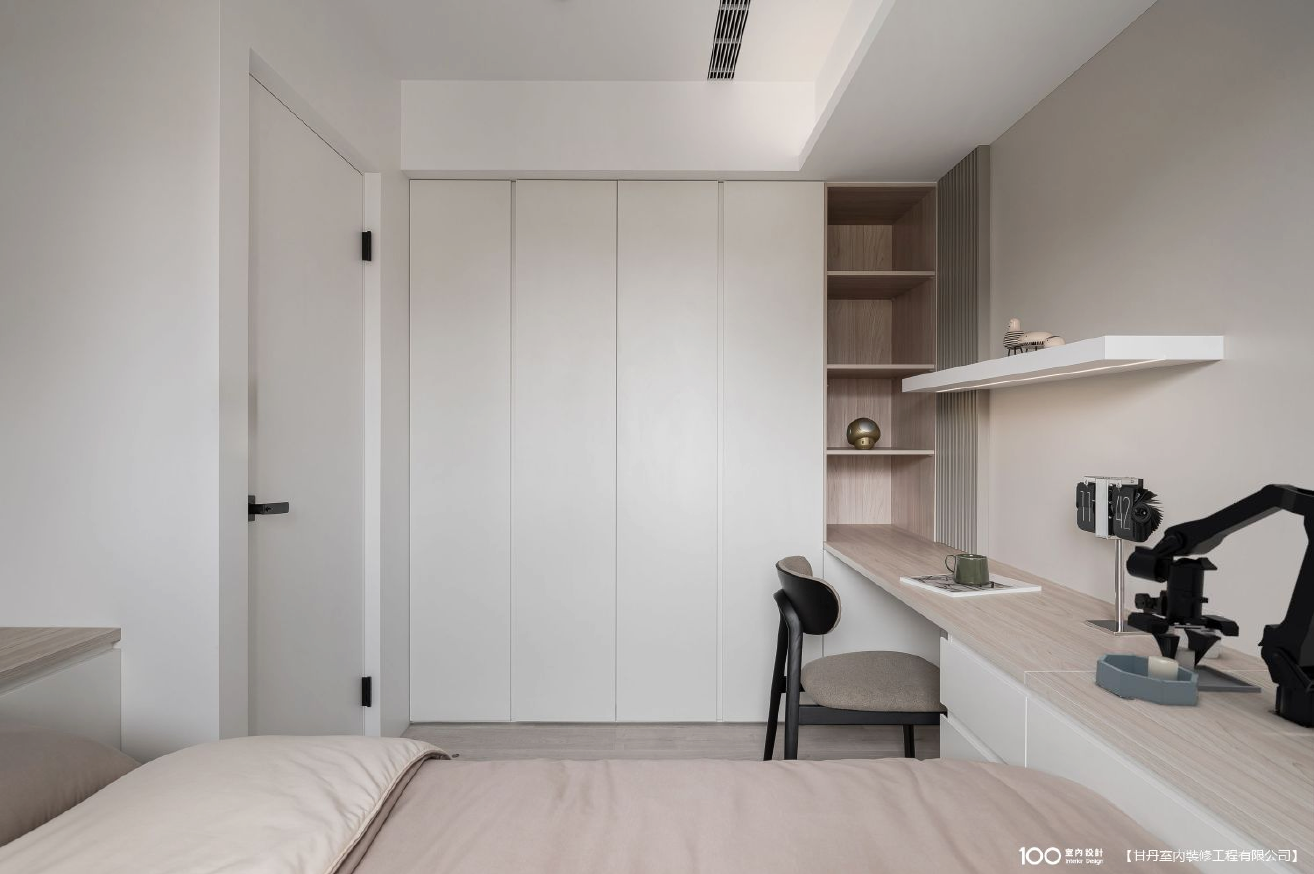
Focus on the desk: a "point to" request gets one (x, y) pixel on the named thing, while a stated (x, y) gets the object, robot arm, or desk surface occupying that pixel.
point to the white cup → (1215, 648)
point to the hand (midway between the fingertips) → (1179, 667)
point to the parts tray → (1221, 681)
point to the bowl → (1144, 680)
